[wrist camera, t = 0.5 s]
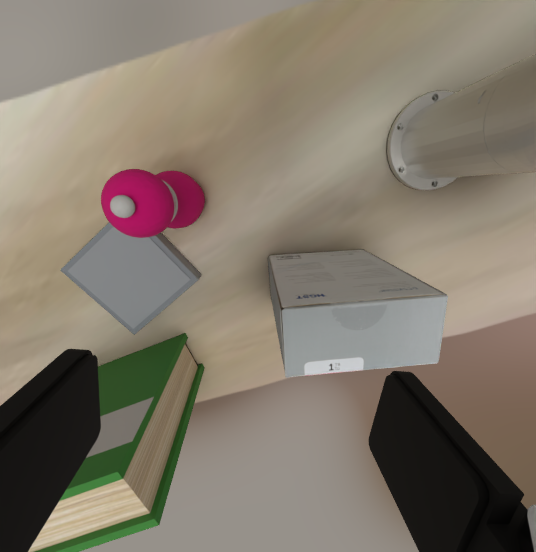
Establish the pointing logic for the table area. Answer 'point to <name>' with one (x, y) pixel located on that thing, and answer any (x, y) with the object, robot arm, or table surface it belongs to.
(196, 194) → the pepper mill
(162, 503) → the hardback book
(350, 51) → the table surface
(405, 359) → the hard drive box
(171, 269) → the slate stand
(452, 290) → the table surface
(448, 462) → the robot arm
